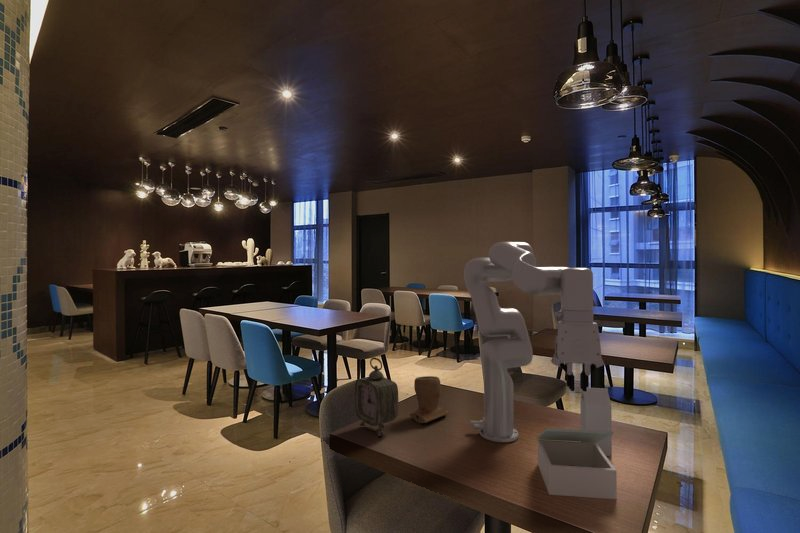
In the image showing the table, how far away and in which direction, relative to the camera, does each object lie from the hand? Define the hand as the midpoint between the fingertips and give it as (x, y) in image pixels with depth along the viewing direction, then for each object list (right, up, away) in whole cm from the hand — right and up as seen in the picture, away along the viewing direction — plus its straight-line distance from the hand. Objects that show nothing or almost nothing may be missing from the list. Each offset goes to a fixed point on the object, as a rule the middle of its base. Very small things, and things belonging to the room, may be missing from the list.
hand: (577, 389), depth 105 cm
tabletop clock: (-53, -26, +39) cm, 70 cm away
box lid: (+1, -14, +5) cm, 15 cm away
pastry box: (+1, -25, +4) cm, 25 cm away
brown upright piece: (-35, -26, +50) cm, 66 cm away
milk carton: (+15, -25, +21) cm, 36 cm away
